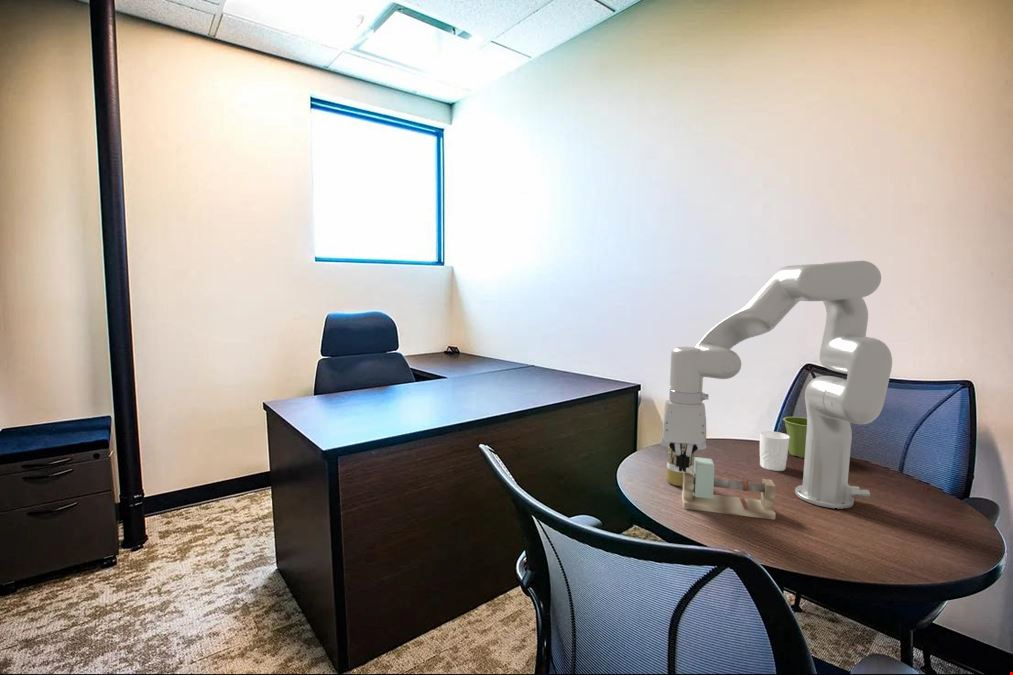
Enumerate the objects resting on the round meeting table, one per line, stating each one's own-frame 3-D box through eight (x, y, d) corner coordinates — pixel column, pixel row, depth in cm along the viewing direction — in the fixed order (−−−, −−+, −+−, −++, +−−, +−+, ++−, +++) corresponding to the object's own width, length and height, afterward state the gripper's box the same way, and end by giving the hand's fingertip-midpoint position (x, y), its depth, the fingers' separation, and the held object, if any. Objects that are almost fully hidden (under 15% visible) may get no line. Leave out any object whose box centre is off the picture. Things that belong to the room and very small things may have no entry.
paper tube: (688, 489, 130) (692, 397, 127) (662, 483, 134) (666, 393, 131) (695, 481, 135) (700, 393, 132) (671, 475, 139) (675, 389, 136)
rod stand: (767, 506, 120) (769, 477, 119) (775, 519, 113) (777, 488, 112) (681, 496, 125) (683, 468, 124) (683, 508, 118) (685, 478, 118)
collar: (709, 489, 122) (711, 458, 122) (712, 498, 117) (714, 466, 116) (692, 487, 124) (694, 457, 123) (695, 496, 118) (696, 464, 117)
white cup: (788, 465, 148) (790, 433, 147) (786, 474, 141) (789, 440, 140) (759, 460, 152) (761, 429, 151) (756, 468, 146) (758, 435, 145)
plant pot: (832, 460, 154) (835, 425, 152) (800, 462, 151) (803, 427, 150) (802, 448, 165) (805, 415, 164) (772, 450, 163) (774, 417, 161)
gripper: (716, 396, 121) (712, 467, 123) (653, 392, 125) (650, 461, 127) (720, 403, 114) (716, 478, 116) (653, 398, 118) (651, 472, 120)
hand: (682, 469), depth 121 cm, fingers closed
